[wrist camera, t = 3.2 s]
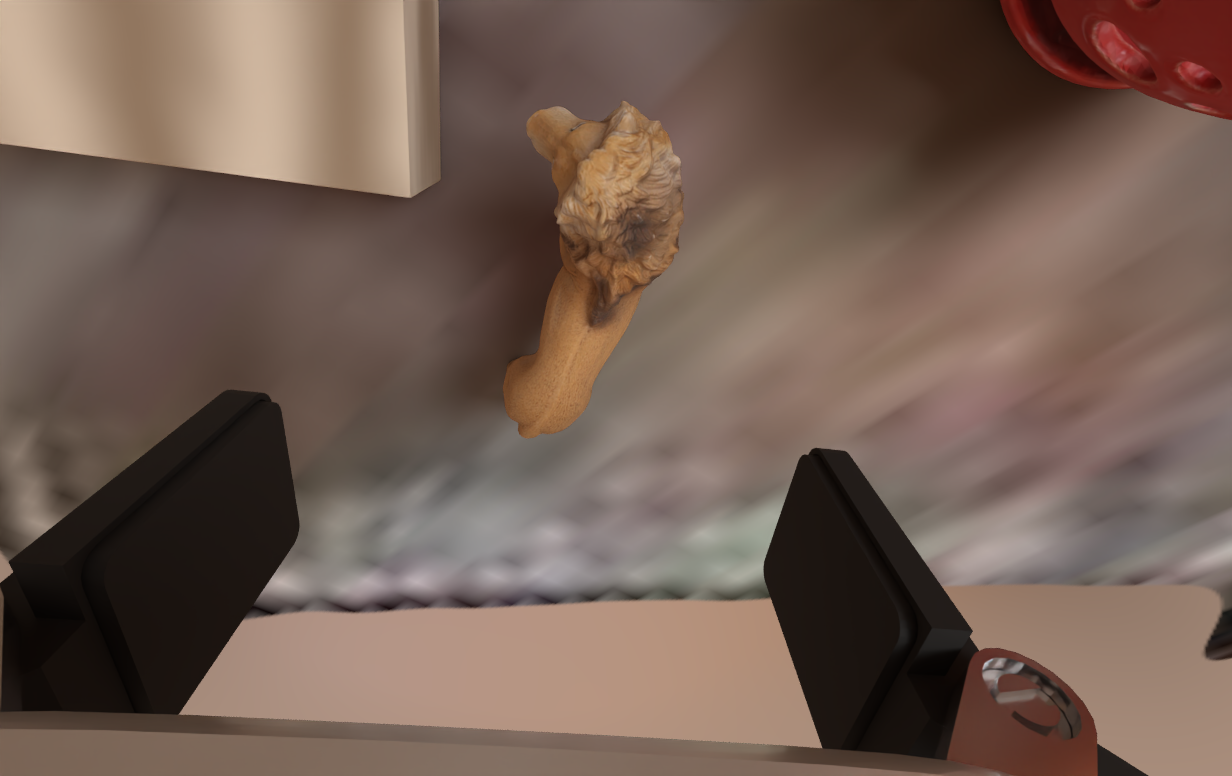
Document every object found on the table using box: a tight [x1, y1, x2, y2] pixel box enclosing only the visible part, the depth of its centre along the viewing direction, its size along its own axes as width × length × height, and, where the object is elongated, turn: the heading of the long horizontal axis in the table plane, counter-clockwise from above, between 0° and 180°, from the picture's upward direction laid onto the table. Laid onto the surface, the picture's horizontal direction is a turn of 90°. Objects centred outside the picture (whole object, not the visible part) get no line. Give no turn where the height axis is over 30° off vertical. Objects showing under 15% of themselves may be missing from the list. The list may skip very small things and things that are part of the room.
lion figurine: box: [503, 101, 684, 438], centre depth 21 cm, size 15×5×9 cm, turn 166°
